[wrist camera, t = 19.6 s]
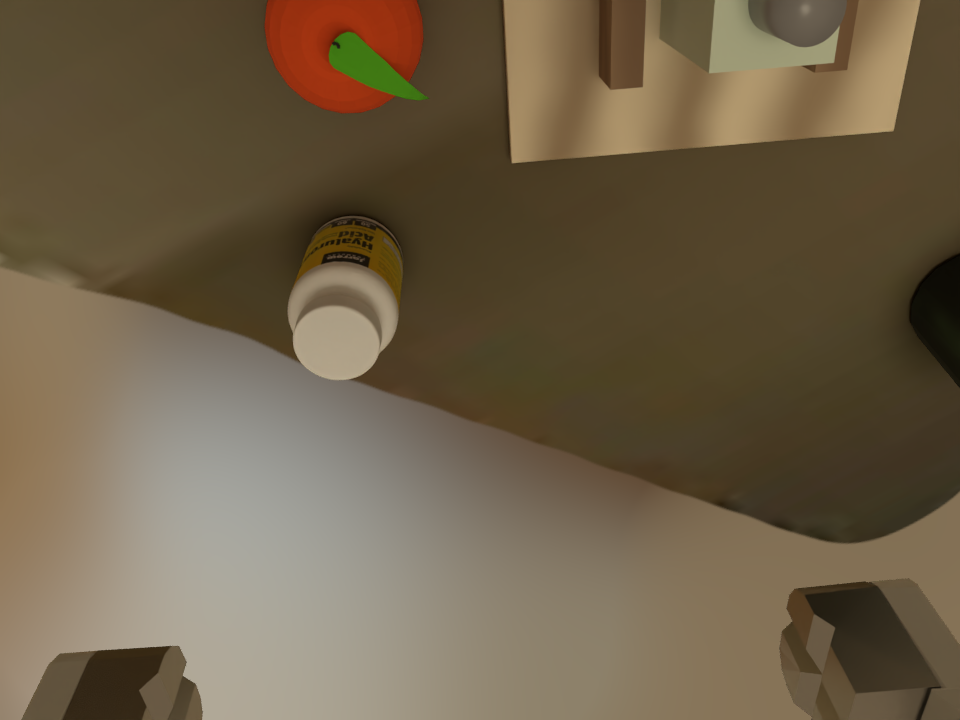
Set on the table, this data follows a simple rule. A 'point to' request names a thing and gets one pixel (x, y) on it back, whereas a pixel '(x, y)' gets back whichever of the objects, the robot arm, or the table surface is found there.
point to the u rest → (685, 82)
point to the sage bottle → (752, 32)
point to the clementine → (346, 50)
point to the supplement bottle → (346, 297)
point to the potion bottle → (940, 316)
